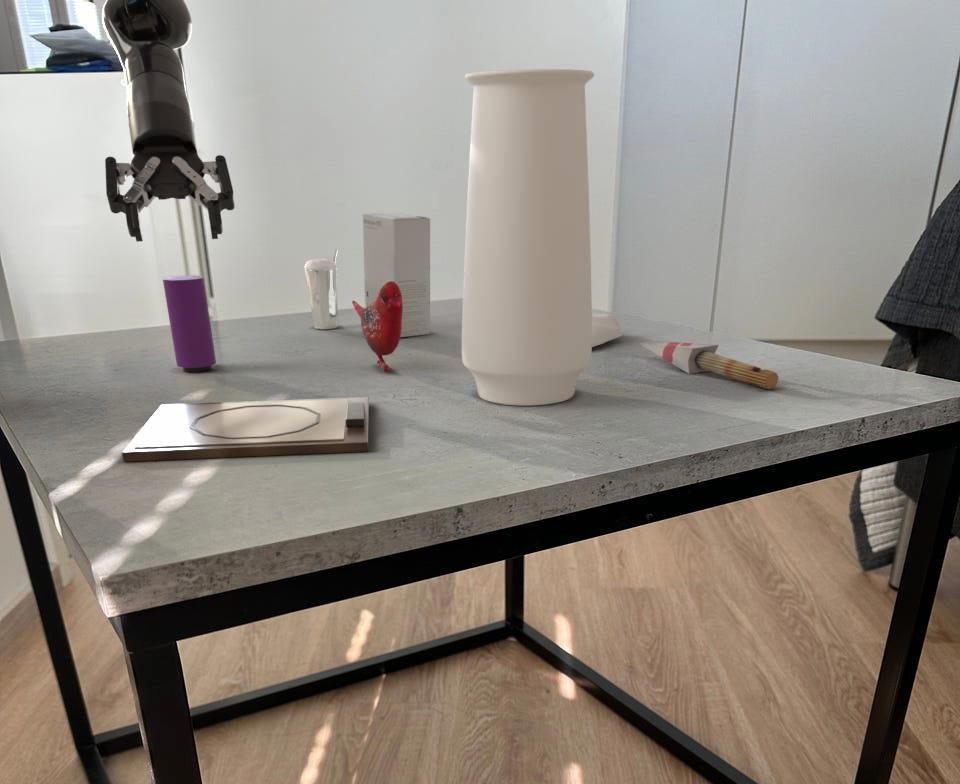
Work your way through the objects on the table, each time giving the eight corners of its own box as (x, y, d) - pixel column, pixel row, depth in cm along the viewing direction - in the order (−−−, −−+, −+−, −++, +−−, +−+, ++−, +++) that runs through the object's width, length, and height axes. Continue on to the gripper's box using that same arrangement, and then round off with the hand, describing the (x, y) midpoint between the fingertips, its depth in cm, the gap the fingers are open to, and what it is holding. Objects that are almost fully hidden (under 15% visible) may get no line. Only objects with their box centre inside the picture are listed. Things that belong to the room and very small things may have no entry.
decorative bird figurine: (391, 383, 100) (385, 284, 95) (345, 354, 114) (338, 267, 109) (416, 380, 100) (412, 283, 96) (367, 352, 115) (361, 266, 110)
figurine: (530, 314, 132) (526, 188, 123) (645, 327, 122) (650, 192, 113) (445, 352, 119) (434, 214, 110) (567, 370, 109) (566, 222, 100)
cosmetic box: (365, 330, 128) (357, 213, 121) (401, 325, 131) (396, 211, 124) (397, 339, 122) (391, 216, 115) (435, 333, 125) (431, 213, 118)
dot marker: (174, 374, 105) (158, 280, 100) (181, 366, 109) (166, 275, 104) (213, 372, 105) (200, 279, 101) (219, 364, 109) (206, 274, 105)
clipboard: (123, 462, 76) (119, 443, 75) (162, 412, 90) (160, 397, 89) (368, 451, 77) (366, 434, 77) (369, 404, 91) (368, 389, 91)
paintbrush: (662, 327, 109) (787, 365, 94) (660, 351, 111) (782, 392, 96) (636, 330, 108) (759, 369, 93) (634, 354, 109) (755, 396, 94)
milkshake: (353, 326, 131) (347, 250, 127) (323, 331, 128) (316, 254, 123) (333, 322, 134) (326, 248, 130) (303, 327, 131) (295, 251, 126)
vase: (523, 374, 102) (525, 80, 89) (615, 392, 94) (633, 72, 81) (436, 395, 94) (425, 75, 81) (529, 417, 86) (533, 66, 73)
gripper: (93, 99, 107) (106, 213, 102) (219, 98, 110) (237, 209, 106) (105, 151, 114) (118, 260, 109) (224, 149, 117) (241, 255, 113)
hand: (177, 235), depth 107 cm, fingers open, 8 cm apart
